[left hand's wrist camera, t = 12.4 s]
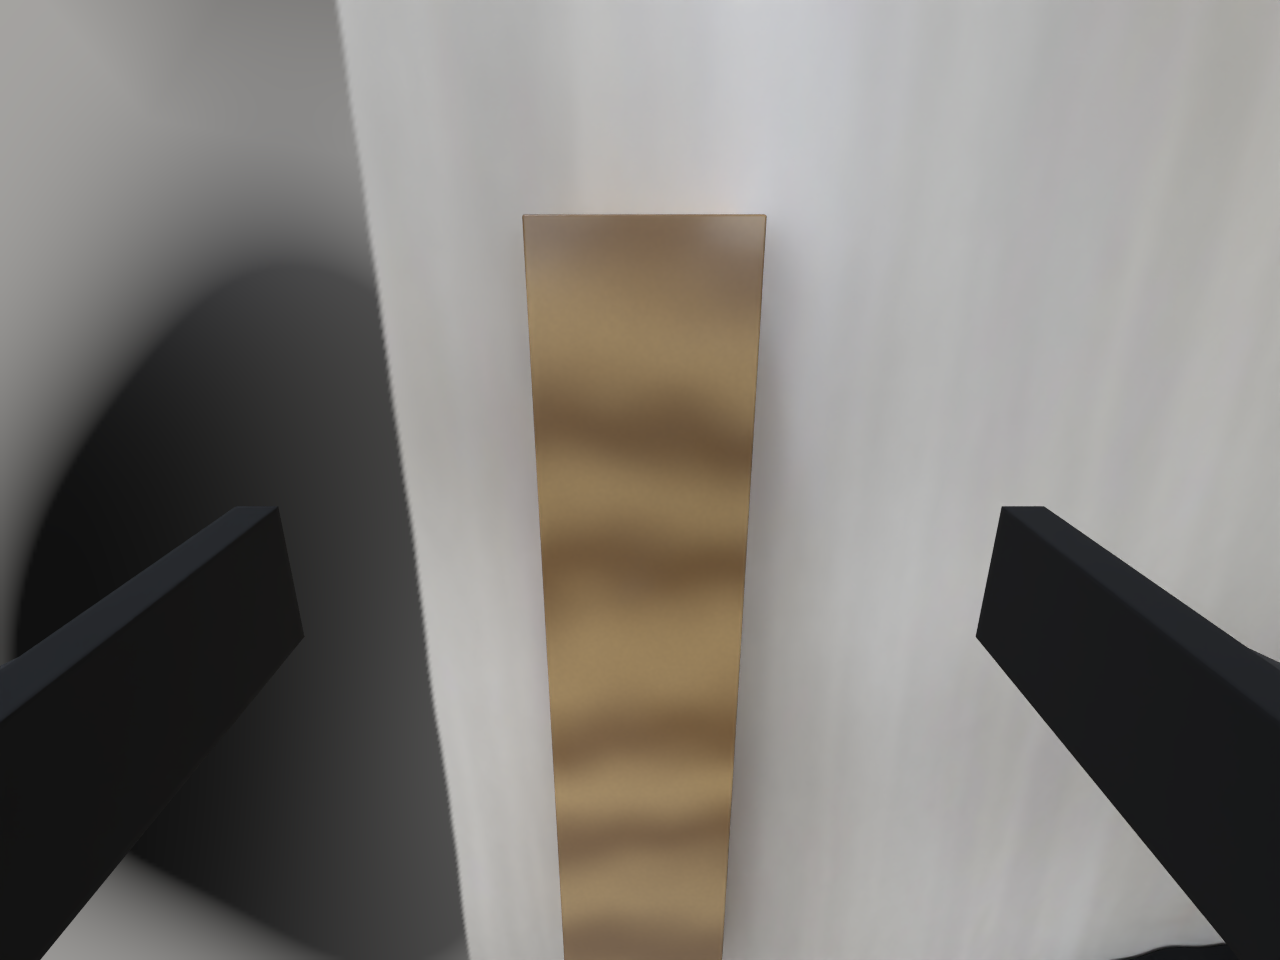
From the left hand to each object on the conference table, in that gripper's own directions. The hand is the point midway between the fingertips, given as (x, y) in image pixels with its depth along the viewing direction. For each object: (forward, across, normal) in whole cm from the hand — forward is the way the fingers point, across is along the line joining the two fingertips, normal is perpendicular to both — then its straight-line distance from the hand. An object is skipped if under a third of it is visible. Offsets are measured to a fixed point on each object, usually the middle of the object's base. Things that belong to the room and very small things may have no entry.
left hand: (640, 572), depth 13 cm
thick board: (+25, 0, -19) cm, 31 cm away
